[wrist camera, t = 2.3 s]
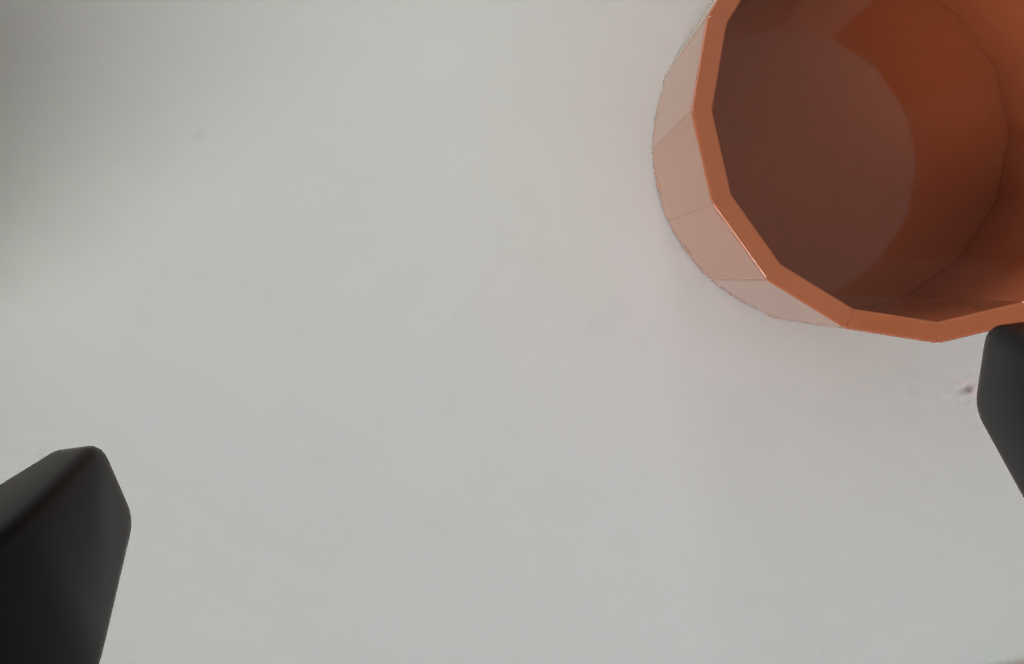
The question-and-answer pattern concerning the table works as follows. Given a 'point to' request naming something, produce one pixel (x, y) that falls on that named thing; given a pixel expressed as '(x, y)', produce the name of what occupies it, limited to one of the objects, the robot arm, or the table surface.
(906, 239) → the cup
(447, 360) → the table surface
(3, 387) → the table surface
